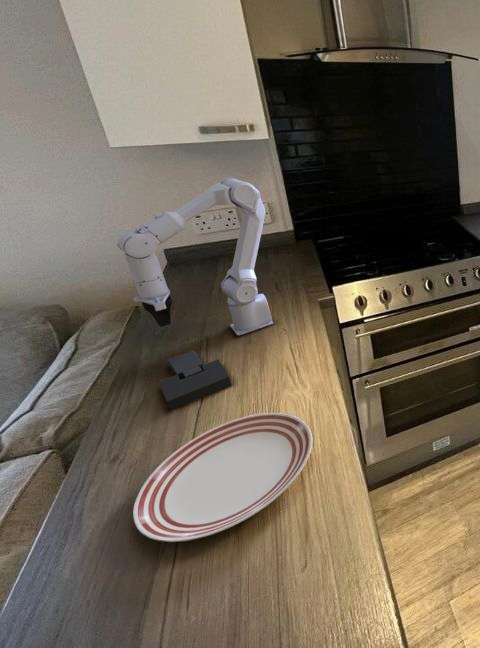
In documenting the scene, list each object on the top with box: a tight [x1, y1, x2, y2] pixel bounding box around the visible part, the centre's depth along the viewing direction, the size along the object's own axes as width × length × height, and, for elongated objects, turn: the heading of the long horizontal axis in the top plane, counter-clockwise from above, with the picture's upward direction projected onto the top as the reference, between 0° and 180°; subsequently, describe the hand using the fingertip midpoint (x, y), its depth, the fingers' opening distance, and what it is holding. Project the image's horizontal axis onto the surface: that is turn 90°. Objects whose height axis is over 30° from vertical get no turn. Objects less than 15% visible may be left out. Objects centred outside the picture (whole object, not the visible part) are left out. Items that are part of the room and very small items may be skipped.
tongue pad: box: [167, 349, 204, 380], centre depth 110 cm, size 5×12×3 cm, turn 50°
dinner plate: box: [132, 412, 314, 543], centre depth 81 cm, size 28×27×3 cm
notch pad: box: [158, 359, 233, 411], centre depth 105 cm, size 12×10×2 cm
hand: (165, 324), depth 114 cm, fingers closed
